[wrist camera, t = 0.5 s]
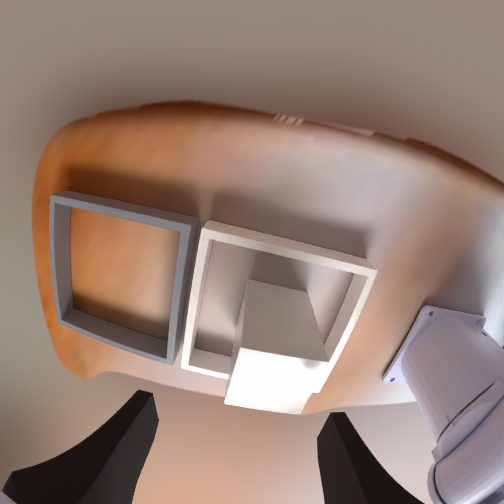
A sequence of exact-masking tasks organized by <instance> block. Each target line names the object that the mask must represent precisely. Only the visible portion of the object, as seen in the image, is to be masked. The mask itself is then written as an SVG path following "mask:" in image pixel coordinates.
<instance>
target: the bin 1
mask: <svg viewBox="0 0 504 504" xmlns="http://www.w3.org/2000/svg"><path fill="white" fill-rule="evenodd" d="M71 207H75V208H79V209H83V210H88V211H92V212H96V213H101V214H105V215H109V216H114V217H118V218H122V219H126V220H131V221H135V222H139V223H144V224H148V225H152V226H157V227H161V228H165V229H169V230H174V231H178V232H181V235H180V242H179V248H178V255H177V262H176V270H175V277H174V285H173V294H172V303H171V312H170V323H169V334H168V341H166V340H163V339H160V338H156V337H153V336H150V335H146V334H143V333H140V332H137V331H134V330H131V329H128V328H125V327H122V326H119V325H116V324H114V323H111V322H108V321H105V320H103V319H100V318H97V317H95V316H92V315H90V314H87V313H84V312H82V311H80V310H77V309H75V308H74V305H73V295H72V283H71V265H70V217H71ZM198 222H199V218H197V217H193V216H189V215H184V214H180V213H175V212H170V211H166V210H161V209H157V208H152V207H147V206H143V205H138V204H133V203H128V202H124V201H119V200H114V199H109V198H104V197H99V196H94V195H89V194H84V193H79V192H74V191H69V190H66V191H62V192H58V193H54V194H51V195H50V213H49V239H50V262H51V275H52V285H53V294H54V301H55V308H56V314H57V320H58V323H60V324H62V325H64V326H66V327H68V328H70V329H73V330H75V331H77V332H79V333H82V334H84V335H87V336H89V337H91V338H94V339H96V340H99V341H101V342H104V343H106V344H109V345H112V346H114V347H117V348H120V349H122V350H125V351H128V352H131V353H134V354H137V355H140V356H143V357H146V358H149V359H152V360H155V361H159V362H162V363H165V364H169V365H172V366H173V364H174V362H175V359H176V357H177V354H178V352H179V349H180V341H181V332H182V324H183V316H184V309H185V301H186V294H187V287H188V281H189V274H190V268H191V262H192V256H193V250H194V244H195V238H196V233H197V227H198Z"/></svg>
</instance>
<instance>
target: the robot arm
mask: <svg viewBox="0 0 504 504" xmlns="http://www.w3.org/2000/svg"><path fill="white" fill-rule="evenodd" d="M430 312H431V313H430ZM429 313H430V314H429ZM485 322H486V318H485V317H484V316H480V315H474V314H469V313H464V312H459V311H454V310H449V309H444V308H439V307H434V306H429V305H426V306H424V307H423V308H422V309H421V311H420V313H419V315H418V317H417V319H416V321H415V323H414V325H413V327H412V328H411V330H410V332H409V334H408V336H407V338H406V339H405V341H404V343H403V345H402V346H401V348H400V350H399V352H398V353H397V355H396V357H395V358H394V360H393V362H392V363H391V365H390V366H389V368H388V370H387V371H386V373H385V374H384V376H383V377H382V381H383V383H392V384H408V385H409V387H410V389H411V391H412V393H413V395H414V397H415V399H416V401H417V403H418V405H419V407H420V409H421V411H422V413H423V415H424V417H425V419H426V421H427V423H428V425H429V427H430V429H431V431H432V433H433V435H434V438H435V440H436V442H437V444H438V445H437V446H436V447H435V448H434V449H433V450H432V455H433V457H434V459H435V462H434V463H433V464H432V466H431V468H430V470H429V473H428V479H427V485H428V491H429V495H430V498H431V500H432V502H433V503H434V504H504V350H503V349H502V348H501V347H500V345H499V344H498V343H497V342H496V341H495V340H494V339H493V338H492V337H491V336H490V335H489V334H488V333H487V332H486V331H485V330H484V329H483V326H484V324H485ZM158 422H159V419H158V415H157V411H156V406H155V401H154V397H153V393H150V392H146V391H142V390H138V391H136V393H135V394H134V395H133V396H132V397H131V398H130V399H129V400H128V401H127V402H126V403H125V404H124V405H123V406H122V407H121V409H119V410H118V411H117V412H116V413H115V414H114V415H113V416H112V417H111V418H110V419H109V420H108V421H107V422H106V423H105V424H103V425H102V426H101V427H100V428H99V429H97V430H96V431H95V432H94V433H93V434H91V435H90V436H89V437H87V438H86V439H85V440H83V441H82V442H80V443H79V444H77V445H76V446H74V447H73V448H71V449H69V450H67V451H66V452H64V453H62V454H60V455H58V456H57V457H54V458H52V459H50V460H47V461H45V462H42V463H40V464H37V465H34V466H32V467H28V468H24V469H20V470H17V471H13V472H12V473H11V475H10V476H9V478H8V480H7V482H6V484H5V486H4V488H3V492H4V493H5V494H6V495H7V496H8V497H9V498H10V499H12V500H13V501H14V502H13V501H12V500H10V499H9V498H8V497H7V496H5V495H4V494H3V493H1V492H0V504H16V503H17V504H132V500H133V495H134V492H135V488H136V484H137V481H138V478H139V476H140V473H141V470H142V468H143V466H144V463H145V461H146V458H147V456H148V453H149V451H150V448H151V446H152V443H153V441H154V437H155V434H156V430H157V426H158ZM317 448H318V449H317V450H318V463H319V469H320V474H321V481H322V487H323V493H324V501H325V504H424V503H423V502H421V501H420V500H418V499H417V498H415V497H414V496H413V495H411V494H410V493H409V492H408V491H406V490H405V489H404V488H403V487H402V486H401V485H400V484H398V483H397V482H396V481H395V480H394V479H393V478H392V477H391V476H390V475H389V474H388V472H387V471H386V470H385V469H384V468H383V467H382V466H381V464H380V463H379V462H378V461H377V459H376V458H375V457H374V456H373V454H372V453H371V452H370V450H369V449H368V447H367V446H366V445H365V443H364V442H363V440H362V439H361V437H360V436H359V434H358V433H357V431H356V429H355V428H354V426H353V425H352V423H351V421H350V420H349V418H348V417H347V415H346V413H345V412H333V413H330V415H329V417H328V419H327V420H326V422H325V424H324V426H323V428H322V430H321V432H320V434H319V436H318V437H317Z"/></svg>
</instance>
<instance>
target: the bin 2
mask: <svg viewBox="0 0 504 504" xmlns="http://www.w3.org/2000/svg"><path fill="white" fill-rule="evenodd" d="M213 240H216V241H221V242H225V243H229V244H233V245H238V246H242V247H246V248H250V249H255V250H259V251H263V252H267V253H271V254H276V255H280V256H284V257H288V258H292V259H297V260H301V261H305V262H309V263H314V264H318V265H322V266H326V267H330V268H334V269H339V270H343V271H347V272H351V273H354V276H353V278H352V281H351V284H350V286H349V289H348V291H347V294H346V296H345V299H344V301H343V303H342V306H341V308H340V310H339V313H338V315H337V317H336V320H335V322H334V324H333V327H332V329H331V331H330V333H329V335H328V338H327V340H326V342H325V344H324V348H325V351H326V355H327V358H328V364H327V366H326V368H325V370H324V372H323V374H322V376H321V377H320V379H319V381H318V383H317V385H316V386H315V388H314V390H313V392H314V393H319V391H320V390H321V388H322V386H323V384H324V383H325V381H326V379H327V377H328V376H329V374H330V372H331V370H332V368H333V367H334V365H335V363H336V361H337V359H338V357H339V355H340V353H341V352H342V350H343V348H344V346H345V344H346V342H347V340H348V338H349V336H350V334H351V331H352V329H353V327H354V325H355V323H356V321H357V319H358V317H359V314H360V312H361V310H362V308H363V306H364V303H365V301H366V299H367V296H368V294H369V292H370V289H371V287H372V284H373V282H374V279H375V277H376V274H377V272H378V270H377V269H376V268H375V267H374V266H373V265H372V264H371V263H370V262H369V261H368V260H367V259H365V258H361V257H357V256H353V255H350V254H346V253H342V252H338V251H334V250H330V249H326V248H322V247H319V246H315V245H311V244H307V243H303V242H299V241H295V240H291V239H287V238H282V237H278V236H274V235H270V234H266V233H262V232H258V231H253V230H249V229H245V228H241V227H237V226H232V225H228V224H224V223H219V222H215V221H211V220H208V221H207V223H206V224H205V225H204V226H203V227H202V229H201V235H200V240H199V246H198V251H197V257H196V263H195V269H194V275H193V281H192V288H191V294H190V301H189V308H188V315H187V322H186V329H185V337H184V345H183V353H182V362H181V368H183V369H187V370H191V371H195V372H198V373H203V374H207V375H211V376H215V377H220V378H224V379H228V375H229V368H230V362H231V357H230V356H225V355H221V354H216V353H212V352H208V351H204V350H200V349H196V348H194V344H195V338H196V332H197V325H198V319H199V313H200V307H201V302H202V296H203V290H204V285H205V279H206V274H207V268H208V263H209V258H210V253H211V247H212V242H213Z"/></svg>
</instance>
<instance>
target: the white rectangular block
mask: <svg viewBox="0 0 504 504" xmlns="http://www.w3.org/2000/svg"><path fill="white" fill-rule="evenodd" d="M327 364H328V358H327V355H326V351H325V348H324V345H323V341H322V338H321V334H320V331H319V328H318V325H317V321H316V318H315V315H314V312H313V308H312V305H311V302H310V299H309V296H308V292H304V291H300V290H295V289H291V288H286V287H281V286H277V285H272V284H268V283H264V282H259V281H255V280H250V279H248V282H247V286H246V290H245V294H244V298H243V302H242V306H241V310H240V313H239V317H238V321H237V325H236V329H235V336H234V342H233V349H232V355H231V362H230V368H229V375H228V381H227V388H226V395H225V402H224V403H225V404H230V405H236V406H241V407H247V408H252V409H259V410H266V411H273V412H282V413H291V414H300V412H301V410H302V409H303V407H304V405H305V404H306V402H307V400H308V399H309V397H310V395H311V393H312V392H313V390H314V388H315V386H316V385H317V383H318V381H319V379H320V377H321V376H322V374H323V372H324V370H325V368H326V366H327Z"/></svg>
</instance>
